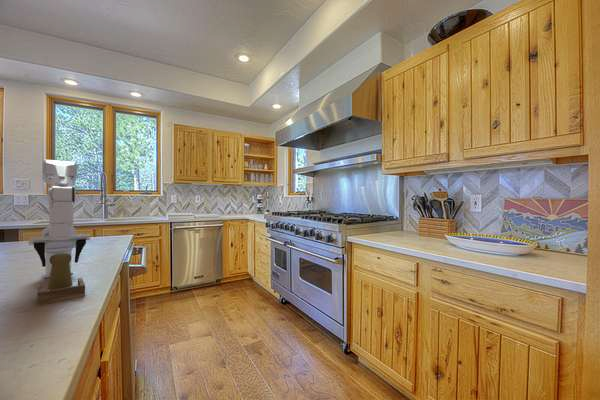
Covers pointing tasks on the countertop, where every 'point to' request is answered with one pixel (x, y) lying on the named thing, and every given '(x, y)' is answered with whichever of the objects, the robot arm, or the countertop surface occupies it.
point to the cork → (60, 271)
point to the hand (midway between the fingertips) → (60, 264)
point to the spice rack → (60, 293)
